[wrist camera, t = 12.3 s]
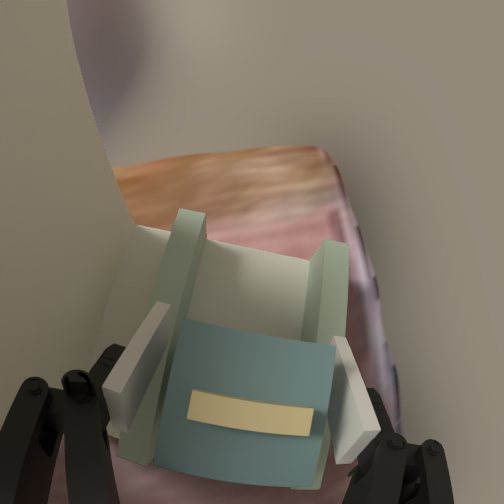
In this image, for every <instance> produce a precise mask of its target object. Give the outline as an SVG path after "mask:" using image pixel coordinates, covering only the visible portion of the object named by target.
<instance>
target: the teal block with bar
mask: <svg viewBox="0 0 504 504" xmlns="http://www.w3.org/2000/svg"><path fill="white" fill-rule="evenodd" d="M335 355H336V346H332V345H325V344H317V343H310V342H304V341H297V340H291V339H285V338H279V337H273V336H267V335H262V334H256V333H251V332H246V331H241V330H236V329H231V328H226V327H221V326H216V325H212V324H207V323H203V322H199V321H194V320H190V319H186V318H183V320H182V324H181V328H180V333H179V337H178V341H177V345H176V350H175V354H174V358H173V363H172V367H171V372H170V377H169V381H168V386H167V391H166V396H165V401H164V406H163V411H162V416H161V421H160V426H159V432H158V437H157V443H156V449H155V455H154V461H153V465H154V466H158V467H161V468H165V469H168V470H172V471H176V472H180V473H184V474H189V475H193V476H198V477H203V478H208V479H214V480H220V481H226V482H233V483H241V484H250V485H261V486H276V487H312V484H313V480H314V476H315V472H316V467H317V463H318V459H319V454H320V449H321V444H322V439H323V434H324V429H325V423H326V418H327V412H328V406H329V400H330V393H331V386H332V379H333V372H334V364H335Z"/></svg>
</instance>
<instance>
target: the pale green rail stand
mask: <svg viewBox="0 0 504 504" xmlns="http://www.w3.org/2000/svg"><path fill="white" fill-rule="evenodd" d="M348 281H349V244H345V243H341V242H337V241H333V240H328V239H325V240H324V241H323V242H322V244H321V245H320V247H319V248H318V249H317V251H316V252H315V254H314V255H313V256H312V258H311V259H310V260H305V259H300V258H295V257H290V256H286V255H281V254H276V253H271V252H266V251H262V250H257V249H252V248H247V247H242V246H238V245H233V244H228V243H223V242H218V241H213V240H209V239H207V234H206V213H201V212H196V211H191V210H186V209H179V211H178V214H177V217H176V220H175V223H174V225H173V228H172V231H171V232H170V231H165V230H160V229H155V228H150V227H145V226H140V225H135V223H134V221H133V219H132V216H131V214H130V212H129V209H128V207H127V205H126V202H125V200H124V198H123V195H122V193H121V190H120V188H119V185H118V183H117V180H116V178H115V175H114V173H113V170H112V168H111V165H110V162H109V160H108V157H107V154H106V152H105V149H104V146H103V143H102V140H101V137H100V135H99V132H98V128H97V125H96V122H95V119H94V116H93V113H92V110H91V107H90V103H89V100H88V97H87V93H86V90H85V86H84V82H83V79H82V75H81V71H80V67H79V63H78V59H77V55H76V51H75V47H74V42H73V37H72V33H71V27H70V21H69V16H68V10H67V3H66V0H0V430H1V428H2V426H3V423H4V421H5V418H6V416H7V414H8V412H9V409H10V407H11V405H12V403H13V401H14V399H15V397H16V395H17V392H18V390H19V388H20V386H21V384H22V383H23V382H24V380H26V379H27V378H29V377H34V376H35V377H40V378H42V379H44V380H45V381H46V382H47V383H48V386H49V387H51V388H57V389H63V386H62V383H61V379H62V376H63V375H64V374H65V373H66V372H68V371H71V370H77V369H79V370H84V371H86V372H88V373H89V371H90V370H91V368H92V367H93V365H94V364H95V363H96V362H97V360H98V358H99V357H100V356H101V354H102V353H103V351H104V350H105V349H106V348H107V347H109V346H110V345H112V344H114V343H115V344H118V345H121V346H124V347H127V346H128V344H129V342H130V341H131V339H132V338H133V336H134V335H135V333H136V332H137V330H138V329H139V327H140V326H141V324H142V323H143V321H144V320H145V318H146V317H147V315H148V314H149V312H150V311H151V309H152V308H153V306H154V305H155V304H156V302H157V301H159V302H163V303H167V304H171V306H170V319H169V335H168V345H167V347H166V350H165V352H164V354H163V356H162V358H161V360H160V362H159V365H158V367H157V369H156V371H155V373H154V376H153V378H152V380H151V382H150V384H149V387H148V389H147V391H146V393H145V396H144V398H143V400H142V402H141V405H140V407H139V409H138V411H137V414H136V416H135V418H134V421H133V423H132V425H131V428H130V430H129V432H128V433H127V432H124V431H122V430H119V429H116V428H113V427H112V426H111V422H110V421H109V423H108V425H107V427H106V429H107V432H108V435H110V436H112V437H115V438H118V439H119V443H118V450H117V456H118V457H120V458H123V459H126V460H129V461H132V462H135V463H138V464H141V465H144V466H147V465H148V464H149V463H150V462H151V461H152V459H153V458H154V455H155V449H156V443H157V437H158V432H159V426H160V421H161V416H162V411H163V406H164V401H165V396H166V391H167V386H168V381H169V377H170V372H171V367H172V363H173V358H174V354H175V350H176V345H177V341H178V337H179V333H180V328H181V324H182V320H183V318H186V319H190V320H194V321H199V322H203V323H207V324H212V325H216V326H221V327H226V328H231V329H236V330H241V331H246V332H251V333H256V334H262V335H267V336H273V337H279V338H285V339H291V340H297V341H304V342H310V343H317V344H325V345H330V342H331V340H332V338H333V336H341V337H345V332H346V318H347V303H348ZM330 442H331V435H330V430H329V425H328V420H327V418H326V423H325V429H324V434H323V439H322V444H321V449H320V454H319V459H318V463H317V467H316V472H315V476H314V480H313V484H312V487H289V489H290V490H315V489H320V486H321V482H322V478H323V474H324V470H325V465H326V461H327V456H328V451H329V447H330Z"/></svg>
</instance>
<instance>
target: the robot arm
mask: <svg viewBox="0 0 504 504" xmlns="http://www.w3.org/2000/svg"><path fill="white" fill-rule="evenodd" d="M170 306H171V304H167V303H163V302H159V301H157V302H156V304H155V305H154V306H153V308H152V309H151V311H150V312H149V314H148V315H147V317H146V318H145V320H144V321H143V323H142V324H141V326H140V327H139V329H138V330H137V332H136V333H135V335H134V336H133V338H132V339H131V341H130V342H129V344H128V346H127V347H124V346H121V345H118V344H115V343H114V344H112V345H110V346H109V347H107V348H106V349H105V350H104V351H103V353H102V354H101V356H100V357H99V358H98V360H97V362H96V363H95V364H94V365H93V367H92V368H91V370H90V371H89V373H88V372H86V371H84V370H79V369H77V370H71V371H68V372H66V373H65V374H64V375H63V376H62V379H61V383H62V386H63V389H57V388H51V387H49V386H48V383H47V382H46V381H45V380H44V379H42V378H40V377H35V376H34V377H29V378H27V379H26V380H24V382H23V383H22V384H21V386H20V388H19V390H18V392H17V395H16V397H15V399H14V401H13V403H12V405H11V407H10V409H9V412H8V414H7V416H6V418H5V421H4V423H3V426H2V428H1V430H0V504H47V502H48V496H49V491H50V485H51V480H52V476H53V471H54V467H55V462H56V458H57V454H58V450H59V446H60V443H61V439H62V435H63V433H65V465H66V478H67V488H68V496H69V504H120V501H119V497H118V493H117V488H116V483H115V478H114V473H113V467H112V461H111V455H110V448H109V440H108V432H107V429H106V427H107V425H108V423H109V421H110V422H111V426H112V427H113V428H116V429H119V430H122V431H124V432H127V433H128V432H129V430H130V428H131V425H132V423H133V421H134V418H135V416H136V414H137V411H138V409H139V407H140V405H141V402H142V400H143V398H144V396H145V393H146V391H147V389H148V387H149V384H150V382H151V380H152V378H153V376H154V373H155V371H156V369H157V367H158V365H159V362H160V360H161V358H162V356H163V354H164V352H165V350H166V347H167V345H168V335H169V319H170ZM330 345H332V346H336V355H335V364H334V372H333V379H332V386H331V393H330V400H329V406H328V412H327V420H328V425H329V430H330V435H331V440H332V445H333V451H334V456H335V462H336V464H350V463H352V462H353V461H354V460H355V459H356V458H358V462H359V464H358V465H357V466H356V467H355V468H354V469H353V470H352V471H351V472H349V474H348V475H347V476H348V477H349V476H351V475H352V474H353V475H352V478H351V481H350V484H349V487H348V489H347V492H346V495H345V497H344V500H343V502H342V504H454V500H453V493H452V487H451V481H450V476H449V471H448V467H447V461H446V457H445V453H444V449H443V447H442V445H441V444H440V443H439V442H437V441H436V440H432V439H429V440H426V441H425V442H424V443H423V444H422V445H415V444H409V443H407V442H406V440H405V438H404V437H403V436H401V435H399V434H397V433H395V432H394V430H393V427H392V425H391V422H390V419H389V417H388V414H387V412H386V411H385V410H386V409H385V407H384V405H383V402H382V399H381V397H380V395H379V394H378V393H377V392H376V390H375V389H374V388H366V387H365V384H364V382H363V379H362V377H361V374H360V371H359V369H358V366H357V364H356V361H355V359H354V356H353V354H352V351H351V349H350V346H349V344H348V341H347V339H346V337H341V336H333V338H332V340H331V342H330ZM418 478H419V479H418ZM419 482H420V483H419Z"/></svg>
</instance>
